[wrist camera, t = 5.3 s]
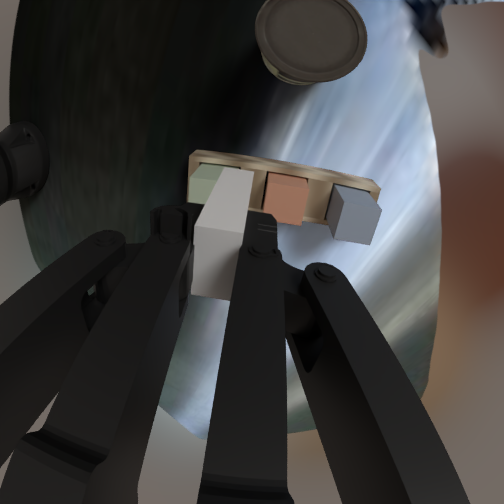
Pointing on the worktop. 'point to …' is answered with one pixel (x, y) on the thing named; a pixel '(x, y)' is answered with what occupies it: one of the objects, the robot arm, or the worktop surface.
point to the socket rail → (315, 177)
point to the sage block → (204, 181)
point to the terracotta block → (285, 197)
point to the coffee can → (310, 39)
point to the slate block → (352, 214)
